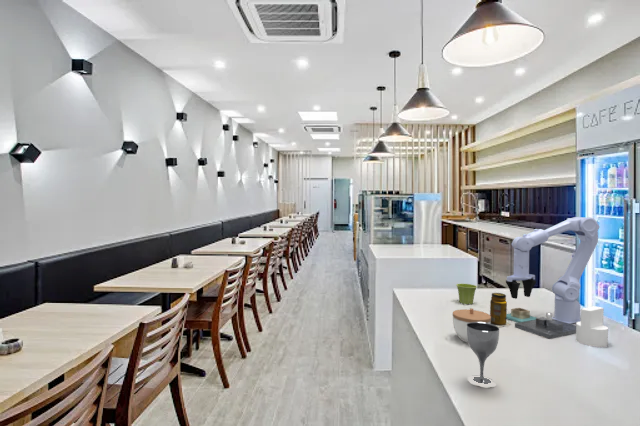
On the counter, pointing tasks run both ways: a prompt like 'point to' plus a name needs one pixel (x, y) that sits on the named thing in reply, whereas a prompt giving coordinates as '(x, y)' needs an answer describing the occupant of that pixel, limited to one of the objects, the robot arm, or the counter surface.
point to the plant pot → (466, 293)
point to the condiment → (498, 309)
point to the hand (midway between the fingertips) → (520, 297)
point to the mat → (519, 319)
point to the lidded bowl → (467, 320)
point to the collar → (520, 313)
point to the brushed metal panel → (547, 327)
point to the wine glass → (482, 343)
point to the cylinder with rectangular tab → (592, 328)
